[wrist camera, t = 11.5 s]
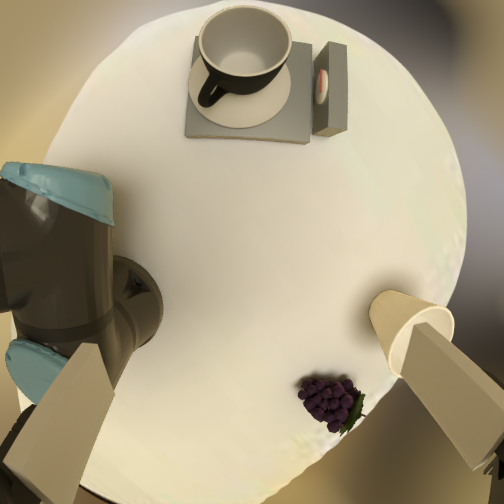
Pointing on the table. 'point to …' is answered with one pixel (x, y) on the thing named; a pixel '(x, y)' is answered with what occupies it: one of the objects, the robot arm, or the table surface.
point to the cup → (404, 323)
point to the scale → (276, 100)
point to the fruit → (333, 403)
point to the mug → (241, 51)
